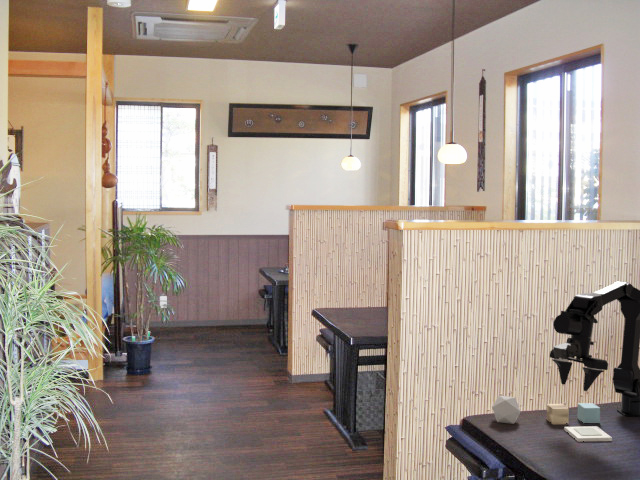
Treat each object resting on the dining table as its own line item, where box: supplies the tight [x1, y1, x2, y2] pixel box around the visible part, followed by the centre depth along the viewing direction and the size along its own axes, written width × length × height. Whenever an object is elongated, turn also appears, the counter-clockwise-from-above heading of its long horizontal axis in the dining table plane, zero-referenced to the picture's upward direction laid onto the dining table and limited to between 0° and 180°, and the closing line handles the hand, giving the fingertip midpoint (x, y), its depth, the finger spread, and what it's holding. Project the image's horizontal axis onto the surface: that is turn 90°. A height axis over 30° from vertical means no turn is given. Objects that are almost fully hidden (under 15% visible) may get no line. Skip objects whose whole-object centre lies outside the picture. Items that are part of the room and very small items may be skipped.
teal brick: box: [577, 402, 601, 424], centre depth 221 cm, size 5×5×5 cm
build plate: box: [563, 425, 613, 443], centre depth 207 cm, size 10×10×1 cm
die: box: [491, 395, 522, 424], centre depth 220 cm, size 8×9×10 cm
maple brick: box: [546, 403, 570, 425], centre depth 220 cm, size 5×5×5 cm
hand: (574, 387), depth 212 cm, fingers open, 9 cm apart
